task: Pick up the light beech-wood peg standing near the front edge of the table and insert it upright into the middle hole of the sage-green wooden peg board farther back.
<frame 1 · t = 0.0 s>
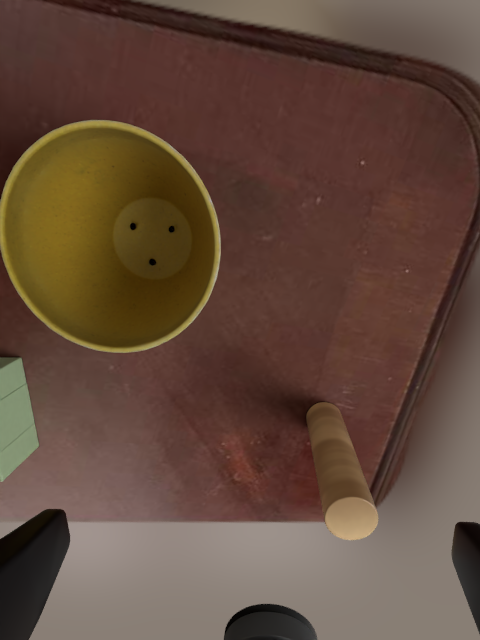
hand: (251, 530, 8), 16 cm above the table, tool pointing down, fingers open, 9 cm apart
peg: (323, 417, 25), on the table
flower pot: (156, 238, 23), on the table
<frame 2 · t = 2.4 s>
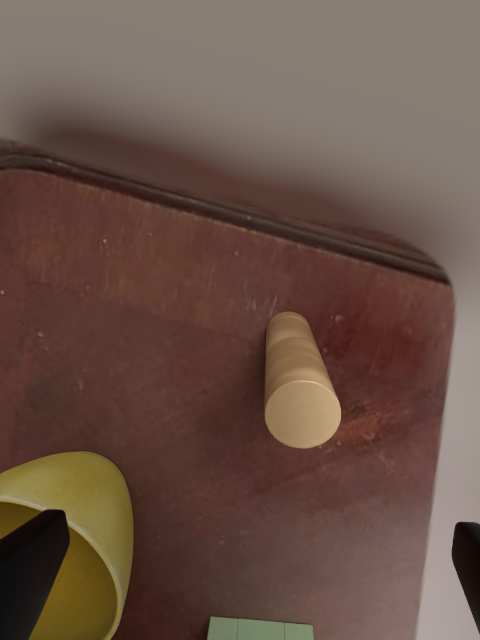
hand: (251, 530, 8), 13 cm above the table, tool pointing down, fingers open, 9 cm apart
peg: (288, 332, 20), on the table
flower pot: (90, 481, 24), on the table
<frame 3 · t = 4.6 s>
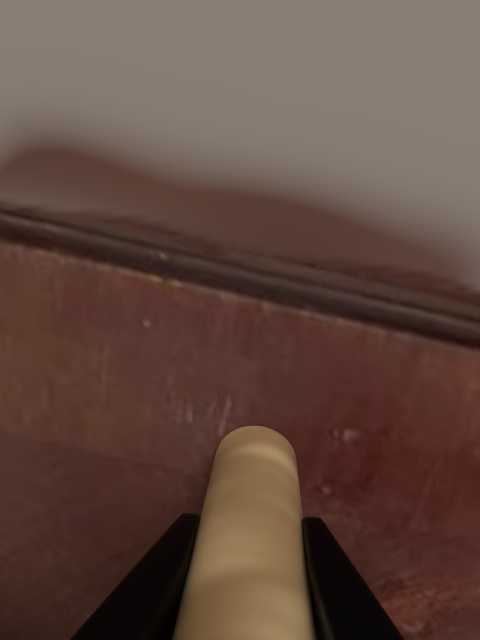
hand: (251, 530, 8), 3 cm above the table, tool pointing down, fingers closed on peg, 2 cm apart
peg: (255, 461, 11), on the table, touching gripper
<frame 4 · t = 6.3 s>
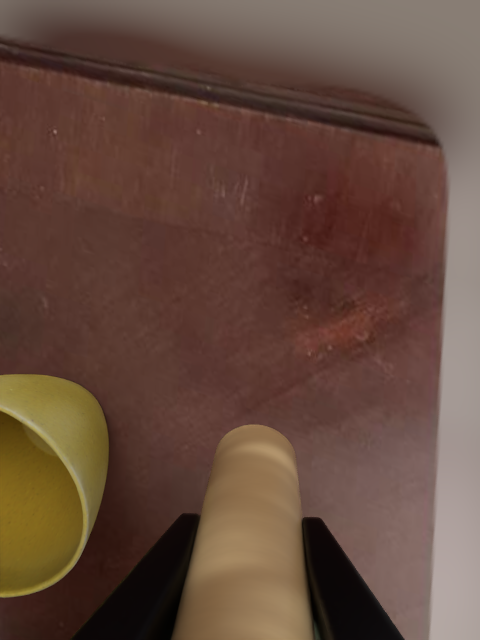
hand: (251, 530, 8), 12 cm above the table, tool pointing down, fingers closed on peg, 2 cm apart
peg: (255, 460, 11), point 10 cm above the table, touching gripper
flower pot: (65, 414, 22), on the table
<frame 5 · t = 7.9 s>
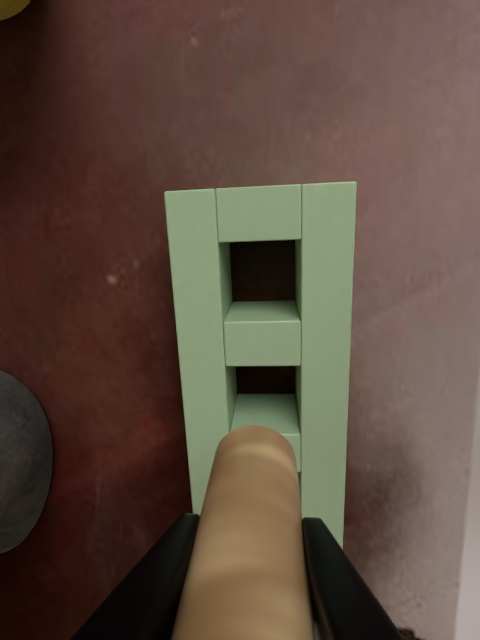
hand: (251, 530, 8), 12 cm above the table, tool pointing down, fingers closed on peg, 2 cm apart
peg board: (265, 366, 20), on the table
peg: (255, 460, 11), point 9 cm above the table, touching gripper
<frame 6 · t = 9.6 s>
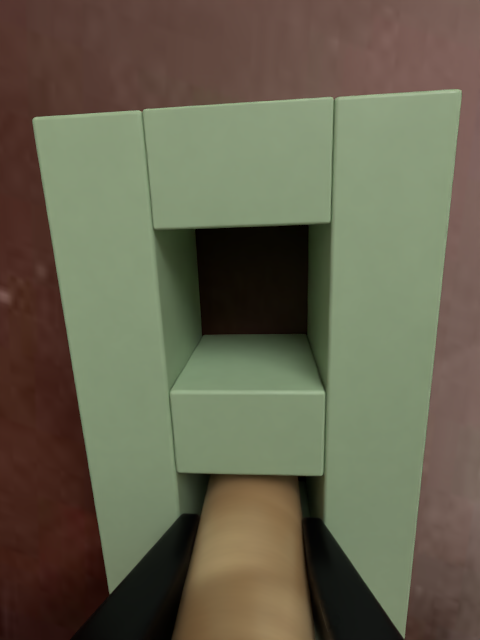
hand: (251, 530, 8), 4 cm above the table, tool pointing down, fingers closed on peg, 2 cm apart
peg board: (257, 437, 12), on the table
peg: (255, 460, 11), point 1 cm above the table, touching gripper
when the fingers open (4 cm above the table, at t = 11.6 s): peg drops 2 cm, resting in peg board.
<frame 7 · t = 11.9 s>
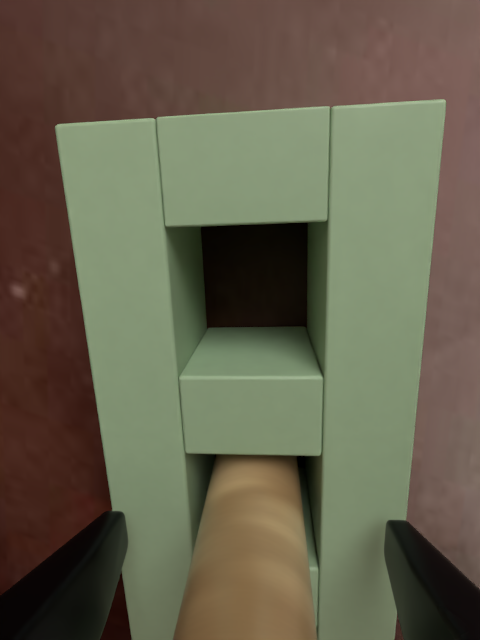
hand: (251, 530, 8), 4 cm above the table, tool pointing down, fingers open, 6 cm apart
peg board: (258, 425, 13), on the table
peg: (258, 425, 13), resting in peg board
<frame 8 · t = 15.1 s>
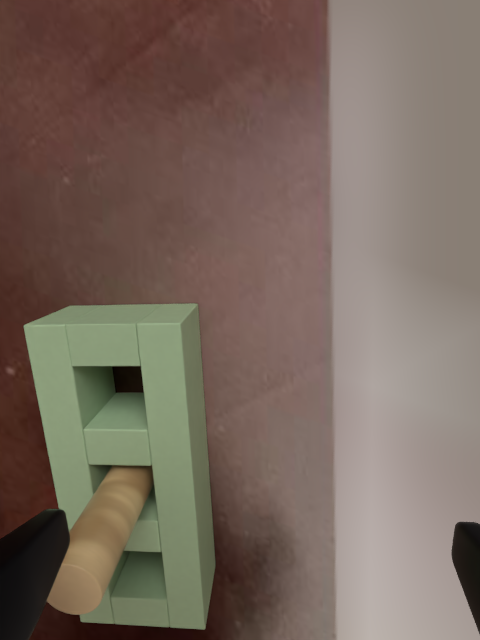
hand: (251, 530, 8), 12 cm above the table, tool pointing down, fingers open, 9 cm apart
peg board: (149, 446, 22), on the table
peg: (148, 446, 22), resting in peg board
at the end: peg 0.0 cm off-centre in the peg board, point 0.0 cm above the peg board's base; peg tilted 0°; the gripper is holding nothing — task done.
